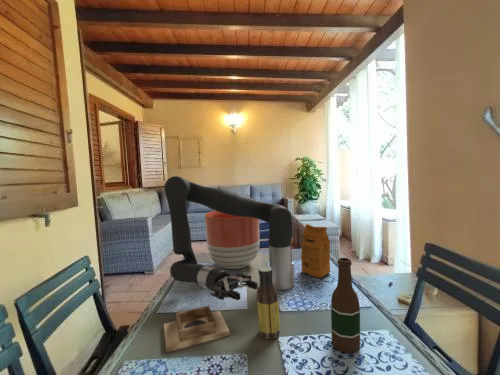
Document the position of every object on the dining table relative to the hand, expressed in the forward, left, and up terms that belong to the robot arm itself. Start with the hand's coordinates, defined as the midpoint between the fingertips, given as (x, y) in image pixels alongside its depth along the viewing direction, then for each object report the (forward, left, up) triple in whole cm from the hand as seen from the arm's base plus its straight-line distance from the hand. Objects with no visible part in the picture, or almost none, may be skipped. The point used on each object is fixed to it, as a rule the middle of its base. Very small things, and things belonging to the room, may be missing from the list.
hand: (248, 291), depth 83 cm
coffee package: (-42, -26, -11) cm, 50 cm away
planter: (-11, -51, -11) cm, 53 cm away
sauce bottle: (-4, +6, -11) cm, 13 cm away
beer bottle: (-21, +19, -11) cm, 30 cm away
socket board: (+16, -4, -11) cm, 20 cm away
